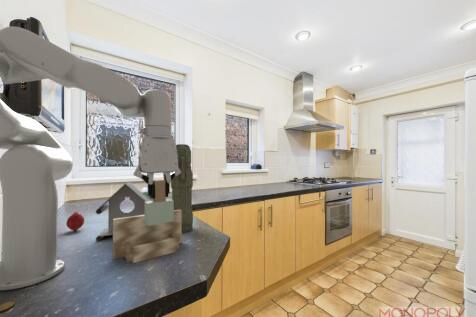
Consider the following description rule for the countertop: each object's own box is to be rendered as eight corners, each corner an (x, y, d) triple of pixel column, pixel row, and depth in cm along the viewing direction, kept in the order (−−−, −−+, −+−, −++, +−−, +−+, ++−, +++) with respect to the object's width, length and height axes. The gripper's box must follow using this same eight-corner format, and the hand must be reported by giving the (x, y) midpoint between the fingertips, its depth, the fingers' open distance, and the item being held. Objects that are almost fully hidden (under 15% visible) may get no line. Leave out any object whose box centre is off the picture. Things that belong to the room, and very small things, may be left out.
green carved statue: (173, 235, 78) (173, 143, 80) (168, 227, 89) (169, 145, 90) (196, 231, 82) (196, 143, 83) (189, 224, 93) (189, 146, 94)
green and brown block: (148, 226, 56) (147, 181, 56) (144, 222, 59) (144, 180, 60) (173, 221, 60) (173, 179, 61) (169, 218, 63) (168, 179, 64)
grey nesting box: (153, 228, 88) (153, 181, 89) (151, 235, 79) (152, 182, 80) (103, 233, 82) (103, 182, 83) (95, 241, 73) (96, 184, 74)
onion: (83, 231, 84) (84, 211, 85) (65, 234, 81) (65, 213, 81) (84, 228, 89) (84, 209, 89) (67, 230, 86) (67, 210, 86)
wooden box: (116, 267, 54) (116, 224, 54) (112, 257, 60) (113, 218, 60) (189, 248, 66) (189, 213, 66) (179, 241, 72) (179, 209, 72)
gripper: (129, 129, 53) (130, 202, 52) (189, 134, 62) (190, 195, 62) (124, 133, 59) (124, 199, 58) (180, 137, 68) (181, 193, 68)
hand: (159, 196), depth 60 cm, fingers closed on green and brown block, 3 cm apart
